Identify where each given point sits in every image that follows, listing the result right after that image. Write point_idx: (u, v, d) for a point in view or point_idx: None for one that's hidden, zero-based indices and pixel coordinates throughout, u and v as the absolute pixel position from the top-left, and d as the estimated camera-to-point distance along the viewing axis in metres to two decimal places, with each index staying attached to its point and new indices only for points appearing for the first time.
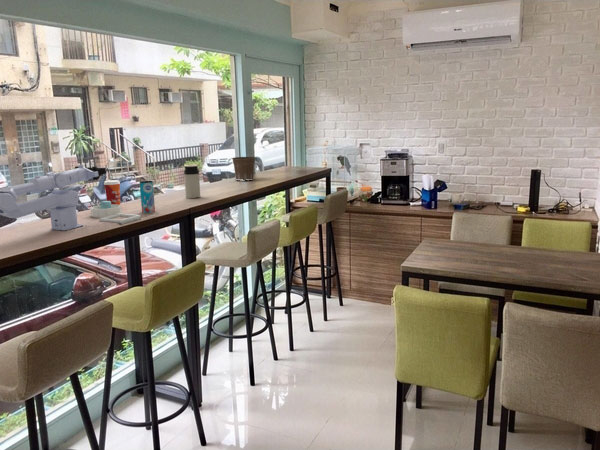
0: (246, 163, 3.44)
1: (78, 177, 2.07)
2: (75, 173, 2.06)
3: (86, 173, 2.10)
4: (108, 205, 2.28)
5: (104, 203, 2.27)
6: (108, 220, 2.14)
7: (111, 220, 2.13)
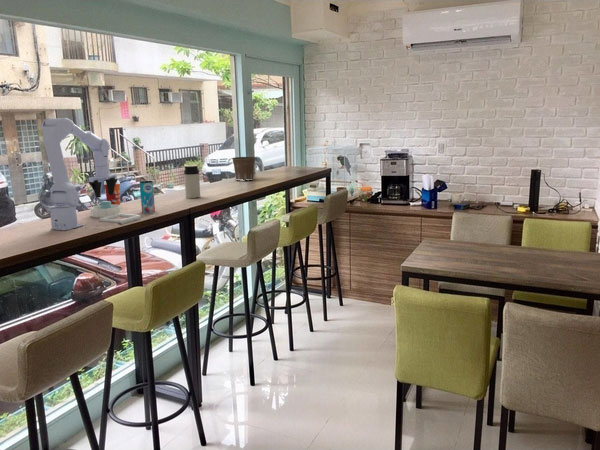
0: (246, 163, 3.44)
1: None
2: None
3: None
4: (108, 205, 2.28)
5: (104, 203, 2.27)
6: (108, 220, 2.14)
7: (111, 220, 2.13)
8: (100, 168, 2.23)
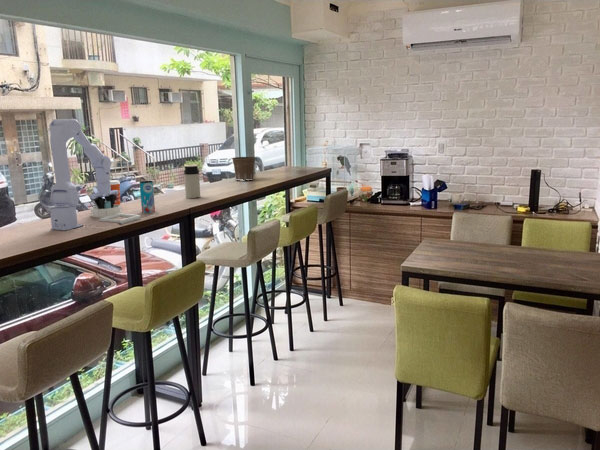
0: (246, 163, 3.44)
1: None
2: (109, 180, 2.27)
3: None
4: (108, 205, 2.28)
5: None
6: (108, 220, 2.14)
7: (111, 220, 2.13)
8: (102, 185, 2.24)
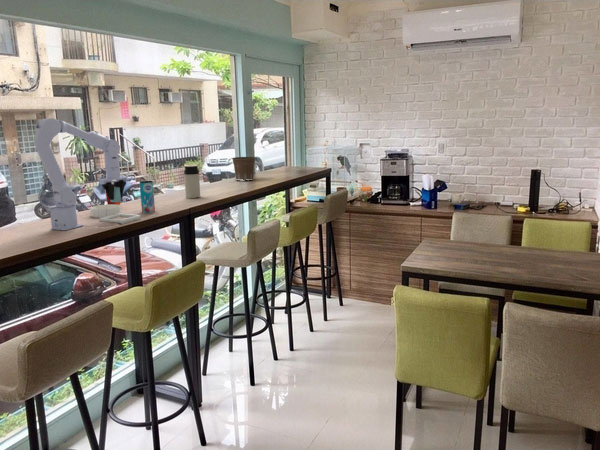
0: (246, 163, 3.44)
1: None
2: (118, 165, 2.15)
3: None
4: (117, 191, 2.17)
5: None
6: (108, 220, 2.14)
7: (111, 220, 2.13)
8: (111, 170, 2.14)
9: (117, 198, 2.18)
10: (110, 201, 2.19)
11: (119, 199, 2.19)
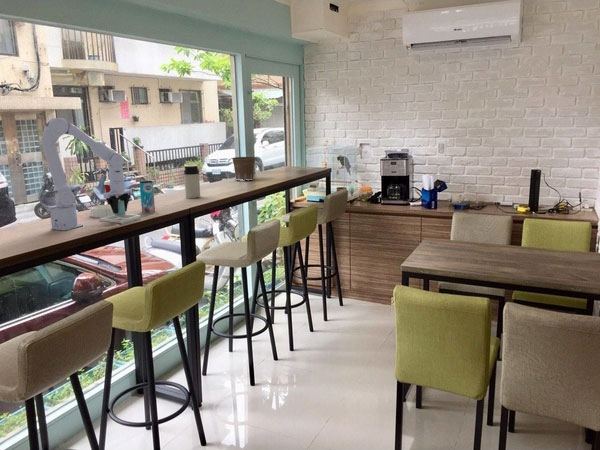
0: (246, 163, 3.44)
1: None
2: (121, 179, 2.14)
3: None
4: (121, 205, 2.16)
5: None
6: (108, 220, 2.14)
7: (111, 220, 2.13)
8: (115, 183, 2.13)
9: (121, 211, 2.16)
10: None
11: (123, 213, 2.17)
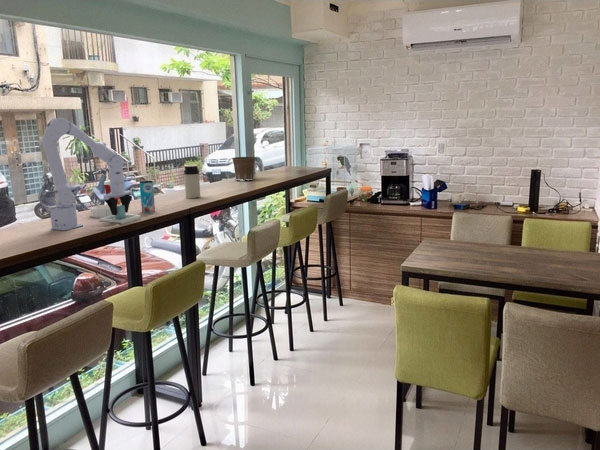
0: (246, 163, 3.43)
1: None
2: (121, 180, 2.14)
3: None
4: (122, 209, 2.17)
5: (118, 207, 2.16)
6: (108, 220, 2.14)
7: (111, 220, 2.13)
8: (115, 185, 2.13)
9: (122, 216, 2.17)
10: None
11: (124, 217, 2.18)
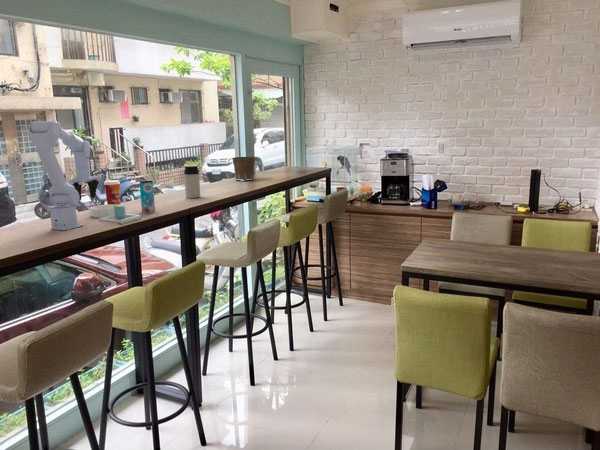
0: (246, 163, 3.44)
1: None
2: (89, 165, 2.19)
3: None
4: (122, 209, 2.17)
5: (118, 207, 2.16)
6: (108, 220, 2.14)
7: (111, 220, 2.13)
8: (80, 170, 2.16)
9: (122, 216, 2.17)
10: None
11: (124, 217, 2.18)
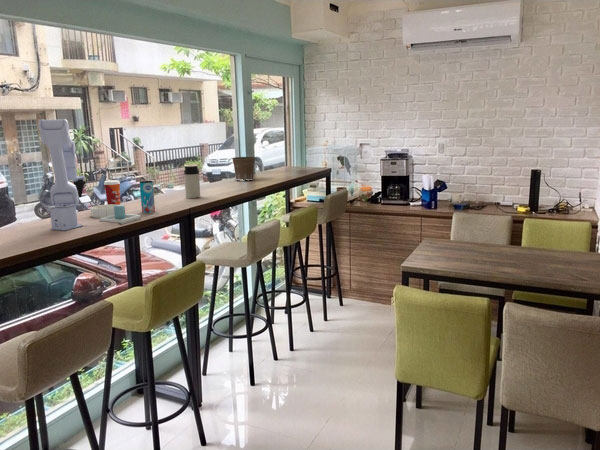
0: (246, 163, 3.44)
1: None
2: None
3: None
4: (122, 209, 2.17)
5: (118, 207, 2.16)
6: (108, 220, 2.14)
7: (111, 220, 2.13)
8: (67, 170, 2.17)
9: (122, 216, 2.17)
10: None
11: (124, 217, 2.18)
